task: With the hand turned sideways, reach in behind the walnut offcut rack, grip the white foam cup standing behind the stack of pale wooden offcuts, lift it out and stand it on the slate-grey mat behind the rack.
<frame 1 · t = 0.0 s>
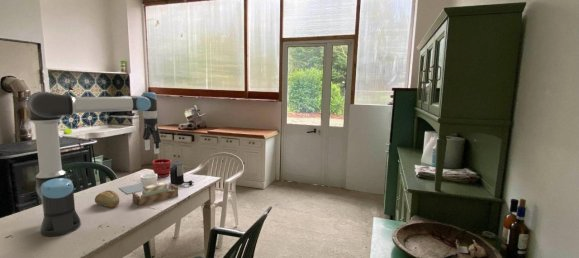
hand: (152, 151, 179), 28 cm above the table, tool pointing down, fingers open, 13 cm apart
foam cup: (150, 195, 182), on the table
long pine offcut: (156, 197, 176), point 1 cm above the table, touching offcut rack, sage painted offcut
milk frother: (182, 184, 205), on the table
slate mat: (135, 188, 193), on the table
offcut rack: (156, 194, 175), on the table
plant pot: (162, 176, 221), on the table
sage painted offcut: (155, 193, 175), point 4 cm above the table, touching long pine offcut, short birch offcut
bread roll: (107, 205, 166), on the table
short birch offcut: (155, 189, 175), point 6 cm above the table, touching sage painted offcut
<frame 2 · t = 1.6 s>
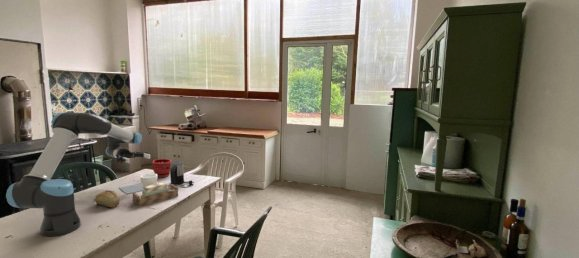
hand: (139, 158, 183), 22 cm above the table, tool horizontal, fingers open, 13 cm apart
nothing on the table moved.
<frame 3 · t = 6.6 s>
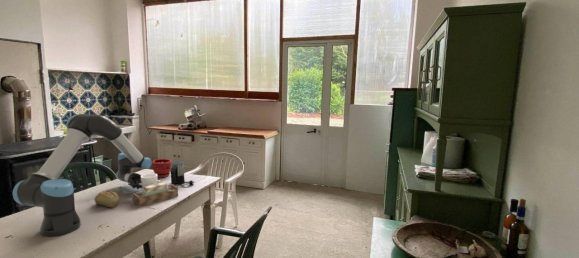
hand: (153, 185, 178), 8 cm above the table, tool horizontal, fingers closed on foam cup, 9 cm apart
foam cup: (150, 195, 182), on the table, touching gripper
everything else where it was.
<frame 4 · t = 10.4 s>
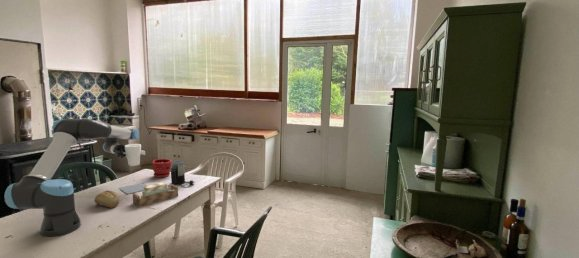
hand: (137, 154, 187), 24 cm above the table, tool horizontal, fingers closed on foam cup, 9 cm apart
foam cup: (134, 164, 191), point 16 cm above the table, touching gripper
everything else where it was.
when the fingers open (9 cm above the table, at t = 14.2 s): foam cup stays where it is, resting on slate mat.
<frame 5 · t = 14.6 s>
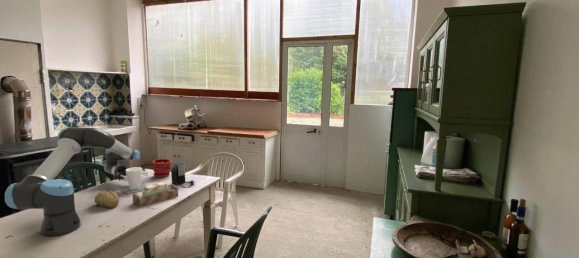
hand: (137, 176, 190), 9 cm above the table, tool horizontal, fingers open, 13 cm apart
foam cup: (135, 188, 193), resting on slate mat
everything else where it was.
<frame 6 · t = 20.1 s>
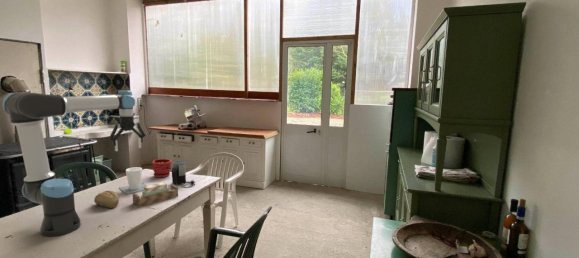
hand: (128, 149, 180), 29 cm above the table, tool pointing down, fingers open, 13 cm apart
at the end: foam cup inside the target area on the slate mat (0.1 cm from its centre), point 0.2 cm above the slate mat's base; foam cup tilted 0°; the gripper is holding nothing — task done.
